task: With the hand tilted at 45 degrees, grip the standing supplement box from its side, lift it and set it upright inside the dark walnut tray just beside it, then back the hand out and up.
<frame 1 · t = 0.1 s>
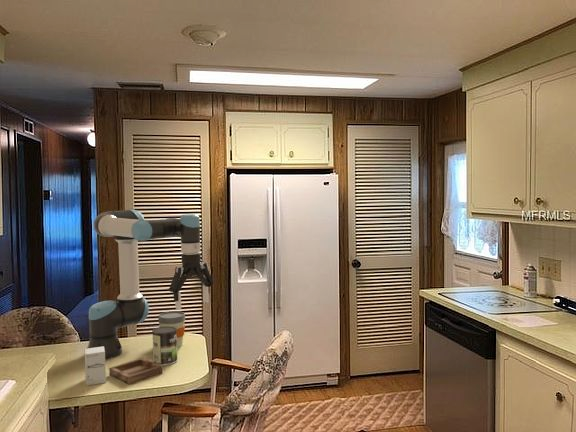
hand: (192, 305, 199), 28 cm above the table, tool pointing down, fingers open, 13 cm apart
supplement box: (95, 381, 194), on the table
walnut tray: (136, 374, 201), on the table
reusable coffee cup: (172, 346, 235), on the table
coffee can: (165, 361, 214), on the table
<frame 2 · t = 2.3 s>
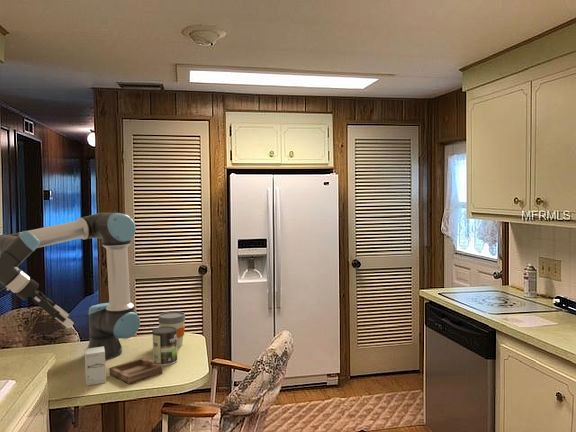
hand: (68, 321, 188), 25 cm above the table, tool tilted 45°, fingers open, 13 cm apart
nothing on the table moved.
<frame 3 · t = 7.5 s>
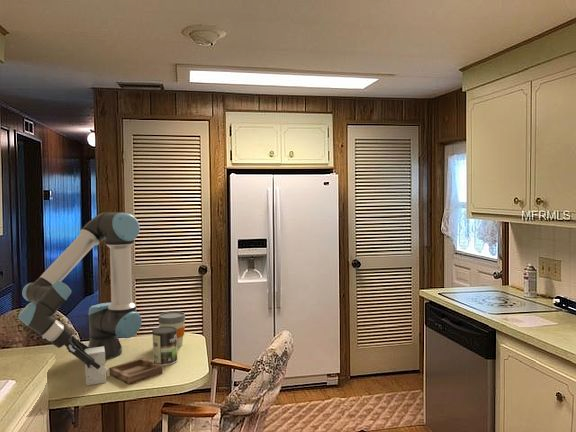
hand: (104, 368, 195), 5 cm above the table, tool tilted 45°, fingers closed on supplement box, 7 cm apart
supplement box: (96, 381, 194), on the table, touching gripper
everything else where it was.
when the fingers open (7 cm above the table, at t = 13.8 s): supplement box drops 1 cm, resting on walnut tray.
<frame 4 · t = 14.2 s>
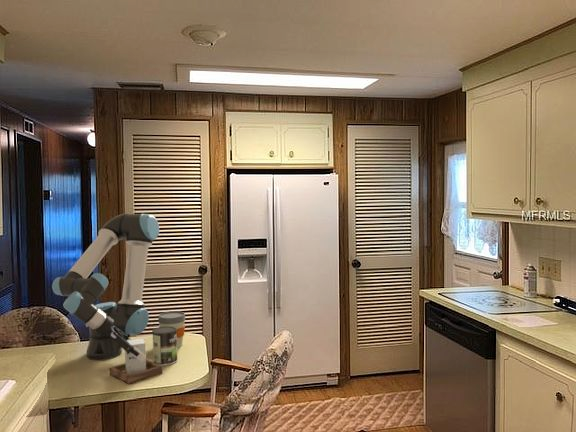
hand: (141, 354, 201), 8 cm above the table, tool tilted 45°, fingers open, 12 cm apart
supplement box: (135, 372, 200), point 1 cm above the table, touching walnut tray
everything else where it was.
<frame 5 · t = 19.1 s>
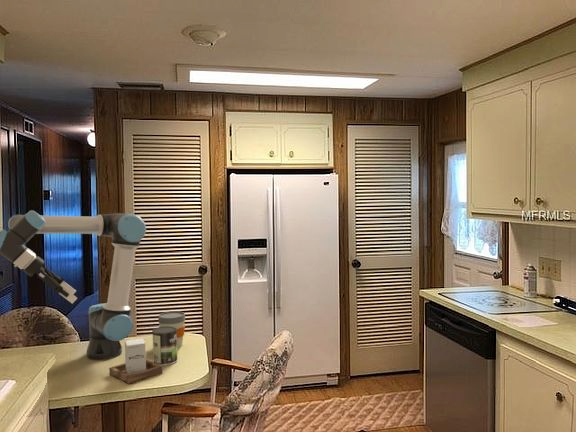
hand: (74, 297, 196), 33 cm above the table, tool tilted 45°, fingers open, 13 cm apart
nothing on the table moved.
at the end: supplement box 0.2 cm off-centre on the walnut tray, point 0.8 cm above the walnut tray's base; supplement box tilted 0°; the gripper is holding nothing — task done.
